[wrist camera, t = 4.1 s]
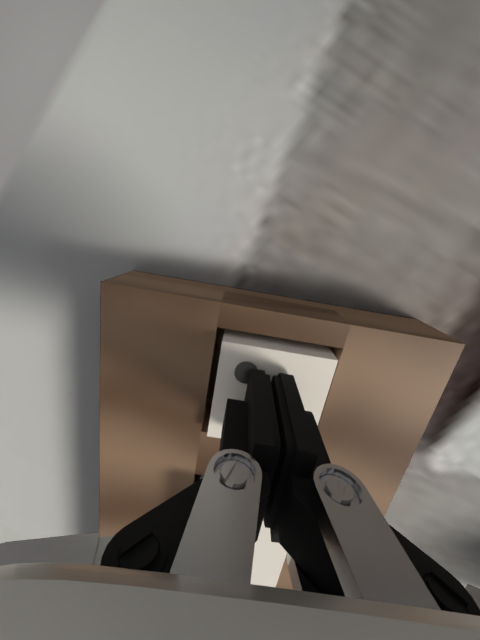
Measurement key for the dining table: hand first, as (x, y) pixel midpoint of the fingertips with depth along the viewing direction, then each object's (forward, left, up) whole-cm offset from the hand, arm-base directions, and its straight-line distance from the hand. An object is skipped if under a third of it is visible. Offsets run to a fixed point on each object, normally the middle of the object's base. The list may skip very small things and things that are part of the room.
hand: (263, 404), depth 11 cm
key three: (0, 0, -3) cm, 3 cm away
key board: (+7, 0, -4) cm, 8 cm away
